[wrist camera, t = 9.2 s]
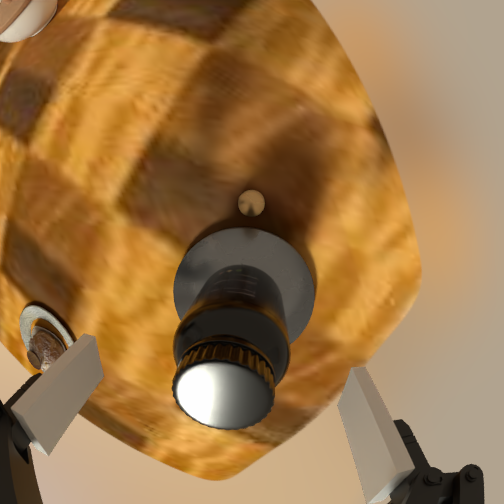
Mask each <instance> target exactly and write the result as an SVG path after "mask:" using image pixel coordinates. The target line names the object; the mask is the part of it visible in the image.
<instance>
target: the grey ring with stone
mask: <svg viewBox="0 0 504 504" xmlns="http://www.w3.org/2000/svg"><path fill="white" fill-rule="evenodd" d="M37 318H42V319H45V320H47V321H49V322H50V323H51V324H52V325H54V326H55V327H56V328H57V329H58V331H59V332H60V333H61V334H62V336H63V337H64V339H65V340H66V342H67V344H68V346H69V347H70V346H71V345H73V344H74V341H73V340H72V338H71V336H70V335H69V333H68V332H67V329H66V328H65V327H64V326H63V325H62V324H61V323H60V322H59V321H58V320H57V319H56V318H55V317H54V316H53V315H52V314H51V313H50V312H48V311H47V310H45V309H44V308H42V307H39V306H36V305H30V306H28V307H26V308H25V309H24V310H23V311H22V313H21V316H20V330H21V334H22V339H23V341H24V343H25V346H26V348H27V350H28V352H27V356H28V359H29V361H30V363H31V364H32V365H33V366H34V367H35V368H36V369H42V370H43V372H45V371H46V370H47V369H48V368H49V367H50V366H51V365H52V364H53V363H54V362H55V361H56V360H57V359H58V358H59V357H60V356H61V355H62V354H63V353H64V352H65V347H64V345H63V343H62V342H61V340H60V339H59V338H58V337H56V336H55V335H54V334H52V333H51V332H50V331H48V330H47V329H45V328H42V327H39V326H34V328H33V330H32V335H31V324H32V322H33V321H34V320H35V319H37ZM59 341H60V342H59Z"/></svg>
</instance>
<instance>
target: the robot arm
mask: <svg viewBox="0 0 504 504" xmlns="http://www.w3.org/2000/svg"><path fill="white" fill-rule="evenodd" d="M103 377H104V374H103V370H102V366H101V362H100V357H99V353H98V348H97V343H96V338H95V336H91V335H88V334H83V335H82V336H81V337H80V338H79V339H78V340H77V341H76V342H75V343H74V344H73V345H71V346H70V347H69V348H68V349H67V350H66V351H65V352H64V353H63V354H62V355H61V356H60V357H59V358H58V359H57V360H56V361H55V362H54V363H53V364H52V365H51V366H50V367H49V368H48V369H47V370H46V371H45V372H44V373H43V374H41V373H38V374H36V375H34V376H32V377H30V378H29V379H28V380H27V381H26V383H25V384H23V385H22V386H21V389H19V390H18V391H17V392H16V393H15V394H14V395H13V396H12V397H11V398H10V399H9V400H8V401H7V402H6V403H5V404H4V405H3V403H2V402H1V400H0V504H43V502H42V499H41V495H40V491H39V488H38V484H37V479H36V475H35V471H34V465H33V460H32V455H31V449H30V447H29V444H30V442H32V443H33V445H34V446H35V448H36V449H37V450H39V451H40V452H42V453H44V454H45V455H47V456H49V455H50V453H51V452H52V450H53V449H54V447H55V446H56V444H57V442H58V441H59V440H60V438H61V437H62V435H63V434H64V432H65V431H66V429H67V428H68V426H69V425H70V423H71V422H72V421H73V419H74V417H75V416H76V415H77V413H78V412H79V410H80V409H81V408H82V406H83V405H84V403H85V402H86V401H87V399H88V398H89V396H90V395H91V394H92V392H93V391H94V389H95V388H96V387H97V385H98V384H99V383H100V381H101V380H102V378H103ZM337 406H338V409H339V412H340V415H341V418H342V421H343V425H344V428H345V431H346V434H347V438H348V441H349V444H350V448H351V451H352V454H353V458H354V461H355V464H356V468H357V471H358V475H359V478H360V482H361V485H362V489H363V493H364V496H365V500H366V504H371V503H376V502H380V501H383V500H384V499H385V498H387V497H388V496H389V495H390V498H391V501H390V502H389V503H388V504H484V480H483V472H482V470H481V469H480V467H478V466H477V465H473V464H470V465H466V466H465V467H463V468H462V469H461V470H460V471H459V472H453V473H443V472H441V470H439V469H437V468H435V467H430V465H429V464H428V462H427V460H426V458H425V456H424V454H423V452H422V450H421V448H420V446H419V444H418V443H417V440H416V438H415V436H413V433H412V431H411V429H410V427H409V425H407V424H406V423H405V422H404V421H403V420H402V419H400V420H394V421H393V420H392V418H391V416H390V414H389V412H388V410H387V408H386V406H385V404H384V402H383V400H382V398H381V396H380V394H379V392H378V390H377V389H376V386H375V385H374V383H373V381H372V379H371V377H370V375H369V373H368V371H367V369H366V367H351V370H350V373H349V376H348V379H347V382H346V384H345V387H344V390H343V392H342V395H341V398H340V400H339V403H338V405H337Z"/></svg>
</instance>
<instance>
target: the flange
mask: <svg viewBox="0 0 504 504" xmlns="http://www.w3.org/2000/svg"><path fill="white" fill-rule="evenodd" d="M264 206H265V200H264V197H263V195H262V194H261V193H260V192H258V191H256V190H248V191H245V192H244V193H242V194H241V196H240V197H239V200H238V207H239V209H240V211H241V212H242V213H243V214H244V215H246V216H250V217H252V216H257V215H259V214H260V213H261V212H262V211H263V209H264ZM231 265H249V266H253V267H256V268H258V269H260V270H262V271H264V272H265V273H267V274H268V275H269V276H270V277H271V278H272V279H273V280H274V281H275V283H276V284H277V286H278V288H279V290H280V292H281V295H282V300H283V305H284V311H285V317H286V323H287V329H288V335H289V341H290V344H291V343H293V342H294V341H295V340H296V339H297V338H298V337H299V336H300V334H301V333H302V332H303V330H304V329H305V327H306V326H307V324H308V322H309V320H310V317H311V315H312V311H313V307H314V299H315V297H314V285H313V280H312V277H311V274H310V271H309V269H308V267H307V265H306V263H305V261H304V260H303V258H302V257H301V255H300V254H299V253H298V252H297V250H296V249H295V248H294V247H293V246H292V245H290V244H289V243H288V242H287V241H286V240H284V239H283V238H281V237H279V236H278V235H276V234H273V233H271V232H269V231H266V230H263V229H259V228H253V227H231V228H227V229H223V230H220V231H217V232H214V233H212V234H210V235H208V236H207V237H205V238H204V239H202V240H201V241H200V242H198V243H197V244H196V245H195V246H194V247H193V248H192V249H191V250H190V251H189V252H188V253H187V254H186V255H185V257H184V258H183V260H182V262H181V263H180V265H179V267H178V270H177V273H176V276H175V281H174V290H173V293H174V302H175V307H176V310H177V313H178V316H179V318H180V320H182V319H183V317H184V315H185V314H186V312H187V311H188V309H189V307H190V306H191V304H192V303H193V301H194V299H195V298H196V296H197V295H198V293H199V292H200V290H201V288H202V287H203V285H204V284H205V283H206V281H207V280H208V279H209V278H210V277H211V276H212V275H213V274H214V273H215V272H217V271H218V270H220V269H222V268H224V267H227V266H231Z"/></svg>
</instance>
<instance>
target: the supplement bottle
mask: <svg viewBox="0 0 504 504" xmlns="http://www.w3.org/2000/svg"><path fill="white" fill-rule="evenodd" d="M173 355H174V360H175V363H176V366H177V371H176V373H175V376H174V378H173V385H172V391H173V397H174V398H175V399H176V403H177V404H178V405H179V407H180V409H181V410H182V411H184V412H185V414H186V415H187V416H189V417H191V418H192V419H193V420H194V421H197V422H199V423H200V424H202V425H206V426H208V427H211V428H216V429H224V430H238V429H244V428H247V427H249V426H254V425H255V424H256V423H259V422H261V420H262V419H263V418H266V416H267V414H268V413H269V412H271V407H272V406H273V405H274V398H275V387H276V386H277V385H278V384H279V383H280V382H281V380H282V379H283V377H284V376H285V374H286V372H287V370H288V367H289V363H290V356H291V352H290V341H289V335H288V329H287V323H286V317H285V311H284V305H283V300H282V295H281V292H280V290H279V288H278V286H277V284H276V283H275V281H274V280H273V279H272V278H271V277H270V276H269V275H268V274H267V273H265V272H264V271H262V270H260V269H258V268H256V267H253V266H249V265H231V266H227V267H224V268H222V269H220V270H218V271H217V272H215V273H214V274H213V275H212V276H211V277H210V278H209V279H208V280H207V281H206V283H205V284H204V285H203V287H202V288H201V290H200V292H199V293H198V295H197V296H196V298H195V299H194V301H193V303H192V304H191V306H190V307H189V309H188V311H187V312H186V314H185V315H184V317H183V319H182V320H181V322H180V324H179V326H178V328H177V330H176V332H175V335H174V339H173Z"/></svg>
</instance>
